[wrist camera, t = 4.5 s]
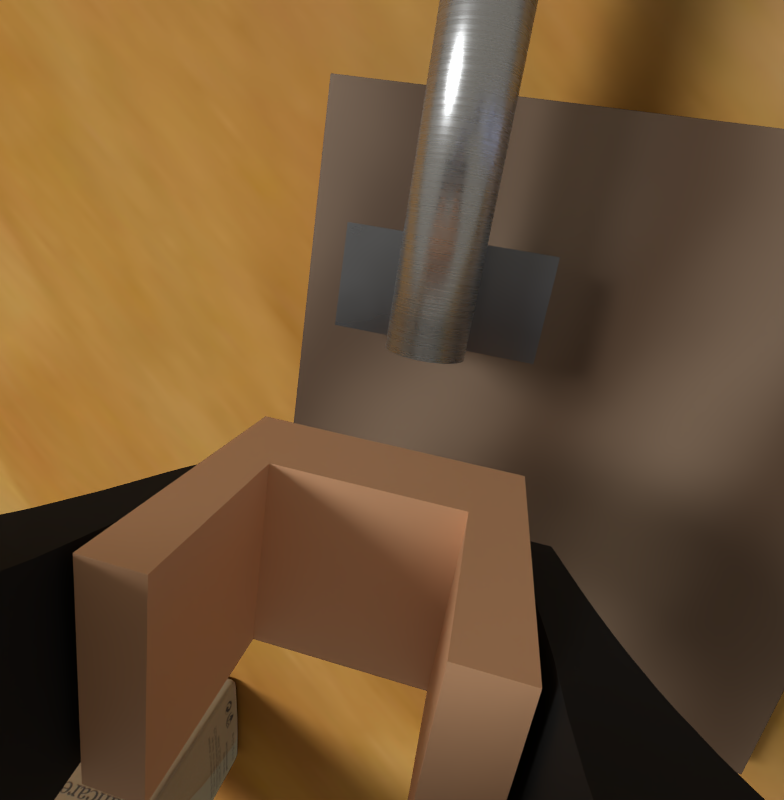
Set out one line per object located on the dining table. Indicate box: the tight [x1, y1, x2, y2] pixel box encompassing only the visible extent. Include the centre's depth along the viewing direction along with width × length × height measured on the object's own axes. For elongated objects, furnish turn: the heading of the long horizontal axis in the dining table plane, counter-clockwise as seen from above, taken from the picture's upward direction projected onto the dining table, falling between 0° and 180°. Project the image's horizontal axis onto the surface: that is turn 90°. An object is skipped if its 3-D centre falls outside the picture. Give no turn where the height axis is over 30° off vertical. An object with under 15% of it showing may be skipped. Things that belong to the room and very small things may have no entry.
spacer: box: [73, 416, 542, 800], centre depth 8 cm, size 5×4×5 cm
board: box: [294, 73, 784, 774], centre depth 15 cm, size 16×18×1 cm
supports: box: [335, 222, 560, 364], centre depth 15 cm, size 5×11×2 cm, turn 171°
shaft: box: [385, 0, 538, 364], centre depth 10 cm, size 4×12×4 cm, turn 171°
